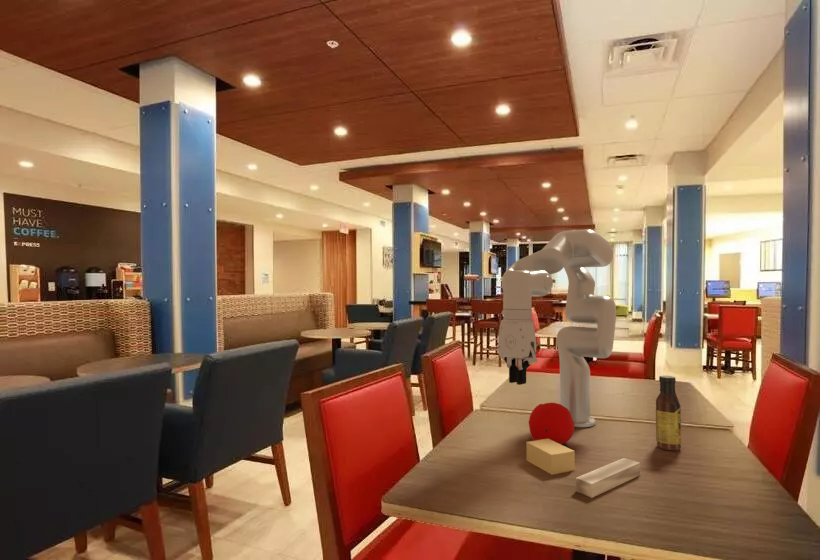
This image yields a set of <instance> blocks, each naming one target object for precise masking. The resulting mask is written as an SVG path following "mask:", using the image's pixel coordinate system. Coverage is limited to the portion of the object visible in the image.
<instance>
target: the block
mask: <svg viewBox="0 0 820 560" xmlns="http://www.w3.org/2000/svg"><path fill="white" fill-rule="evenodd" d="M575 459H576V456H575V450H574V449H571V448H569V447H567V446H565V445H564V444H559V443H557V442H555V441H552V440H550V439H542V440H536V441H534V440H531V441H526V461H527V462H529V463H530V464H533V466H536V467H537V468H539V469H541V470H542V471H545V472H546V473H548V474H550V475H558V474H562V473H568V472H572V471H575V468H576V467H575V464H576V463H575V462H576V461H575Z"/></svg>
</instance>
